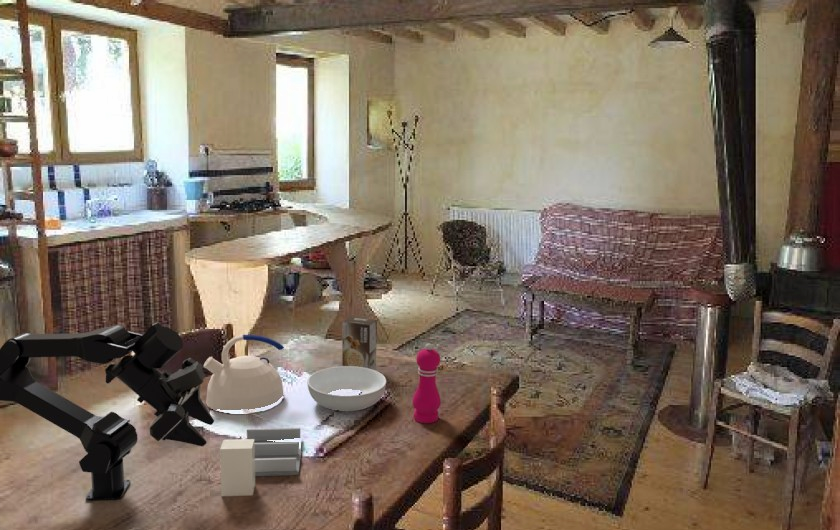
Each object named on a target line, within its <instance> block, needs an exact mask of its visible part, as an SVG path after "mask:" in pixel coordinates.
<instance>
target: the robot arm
mask: <svg viewBox="0 0 840 530" xmlns="http://www.w3.org/2000/svg"><path fill="white" fill-rule="evenodd" d="M183 346H184V342H183V339H182V336H180V334H179V333H178V332H177V331H176V330H175V331H174V330H173V329H171V328H169V327H167V326H162V325H161V324H160V323H159V322H157V321H156V322H155V323H153V324H152V325H150V326H149V327H148V328H147V330H146V331H145V332H144V334H142V333H141V334H140V333H138V332H132V331H130V330H127V329H126V328H125V326H122V325H110V326H106V327H102V328H97V329H94V330H91V331H87V332H83V333H82V332H77V333H73V332H71V333H29V332H24V333H20V334H18V335H16V336H14V337H11V338H8V339H7V340H6V341H5V342H4V343H3V344H2V346H0V401H1V402H13V403H17V404H18V405H20V406H22V407H24V408H25V409H27V410H28V411H30V412H32V413H34V414H35V415H36V416H39V417H41V418H43V419H45V420H46V421H48V422H49V423H51V424H53V425H55V426H57V427H58V428H60V429H62V430H64V431H65V432H67V433H69V434H71V435H73V436H74V437H76V438H77V439H79V441H80V442H81V445H82V447H83V449H84V451H85V452H86V454H85V455H84V456H83V457H82V458H81V459H80V460H79V462H78V464H79V466H80V469H81V471H82V472H84V473H90V475H91V489H90V490H89V492H88V493H87V494H86V495H85V501H97V500H120V499H122V497H123V496H124V495H125V493H126V491H127V490H128V487H129V486H130V484H131V479H125V471H124V468H125V467H124V458H125V457H127V455H129V454H131V451H132V449H133V448H135V446H136V444H137V443H138V440H139V439H138V433H137V428H136V427H135V426H134V425H133V424H131V423H130V422H131V419H128V418H127V419H126V418H123V417H122V416H120V415H119V414H117V413H116V412H114V411H110V412H109V413H107V414H105V415H104V416H100V415H97V414H94V413H92V412H90V411H89V410H86V409H85V408H83V407H81V406H80V405H77V404H76V403H74V402H73V401H71V400H69V399H68V398H66V397H64V396H62V395H60V394H59V393H56V392H55V391H53V390H52V389H50V388H48V387H46V386H44V385H42V384H41V383H39V382H38V381H36V380H35V379H34V377H33V375H32V373H31V371H30V369H29V368H28V367H27V366H28V365H29V364H30V362H31V359H32V358H72V357H73V358H77V359H78V358H80V359H81V360H83V361H84V362H87V363H92V364H99V365H106V364H109V363H110V364H109V365H108V366H107V367H106V368H105V369H104V371H105V384H110V383H111V382H112V381H113V380H115V378H116V379H118V381H120V382H121V383H123V384H124V386H126V387H128V389H130V390H131V391H132V392H133V393H135V394H136V395H137V396H138V398H137V399H136V401H138V402H139V403H140V404H142V403H144V401H145V403H147V404H148V405H149V406H150V407H152V408H153V409H154V410H155V411H154V413H153V414H154V416H156V418H155V419H154V420H153V422H152V423H151V425H150V427H149V436H151V437H152V438H153V439H154V440H156V441H157V442H159V441H161V440H162V441H166V440H168V441H174V442H181V443H185V444H190V445H195V446H197V447H198V446H199V447H205V445H206V444H207V443H208V442H207V440H206V438H204V437H203V435H202V434H201V433H200V432H199V431H198V430H197V429H196V427H194V425H193V424H192V423H190V420H189V419H190V418H192V419H195V420H197V421H200V422H202V423H204V424H206V425H209V426H212V425H213V424H214V423H215V419H214V418H213V416H212V415H211V412H209V409H207V406H206V404H205V403H204V402H203V400H202V398H201V385H202V384H203V383H204V379H205V378H206V374H205V372H204V371H203V364H202V363H199V361H196V360H194V359H193V358H191V357H189V358H187V359H184V360H183V362H182V364H181V368H179V369H178V370H177V371H175V372H174V373H171V372H170V371H169V370H166V369H164V370H162V371H161V370H159V369H161V368H163V366H165V365H166V364H167V363H168V362H169V361H170V360H171V359H173V357H175V356H176V354H178V353H179V352H180V351H181V350H182V349H183ZM132 352H133V353H134V354H133V355H132V354H131V353H132ZM129 354H130V355H129ZM117 359H120V360H119V361H118V362H117V363H113V364H112V363H111V362H112V361H114V360H117ZM189 417H190V418H189Z"/></svg>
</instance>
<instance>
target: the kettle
mask: <svg viewBox="0 0 840 530" xmlns="http://www.w3.org/2000/svg"><path fill="white" fill-rule="evenodd" d="M240 341H257V342H262V343H265V344H268V345H271V347H272V346H273V347H274V348H276V349H277V350H279V351H283V350H284V349H285V347H284V345H282V344H281V343H280V342H278V341H276V340H274V339H272V338H269V337H265V336H262V335H255V334H241V335H237V336H234V337H231V339H230V340H228V341H227V343H225V345H224V346H223V349H222V352H221V362H222V363H221V362H219V361H218V360H216V359H215V358H213V356H209V357H208V358H207V359H206V361H205V362H204V364H203V368H204V369H206V370H208V371H209V372H210V373H212V375H211V377H210V379H209V381H208V384H207V390H206V401H205V405H207V407H208V408H209V409H211V410H212V409H213V410H212V411H214V410H217V409H220V410H241V409H248V410H249V409H255V408H261V407H265V406H268V405H271V404H273V403H275V402H277V401H278V400H279V399H280V398H281V397H282V396H283V394H284V385H283V379H282V378H281V375H280V373H279V372H278V371H277V369H276V368H275V367H274V366H273V365H272V364H271V363H270V360H269V359H268V357H265V356H264V357H257V356H253V355H239V356H235V357H233V358H230V357H229V351H230V349H231V348H232V346H233V345H234V344H237V342H240ZM229 358H230V359H229Z"/></svg>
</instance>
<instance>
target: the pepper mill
mask: <svg viewBox="0 0 840 530" xmlns="http://www.w3.org/2000/svg"><path fill="white" fill-rule="evenodd" d="M415 360H416V364H417V365H418V367H417V370H418V371H417V374H418V376H419V379H418V380H419V381H418V382H419V383H418V385H417V389H416V390H415V392H414V393H413V397H412V406H413V408H414V411H413V419H414V420H415V421H416V422H417V423H421V424H433V423H435V422H437V421H438V419H439V409H440V407H441V404H442V402H441V396H440V392H439V390H438V387H437V382H436V378H437V375H438V373H439V372H438V371H439V369H438V366H439V365H440V364H441V356H440V353H439V352H438V351H437V350H436V349H433V345H432V344H431V343H429V342H428V343H426V344H425V347H424V349H421V350H420V351H418V352H417V355H416V359H415Z"/></svg>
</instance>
